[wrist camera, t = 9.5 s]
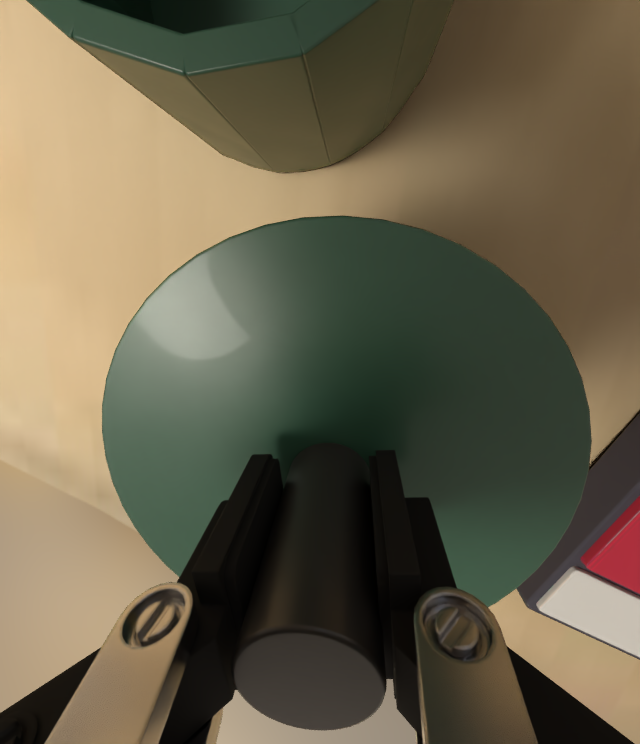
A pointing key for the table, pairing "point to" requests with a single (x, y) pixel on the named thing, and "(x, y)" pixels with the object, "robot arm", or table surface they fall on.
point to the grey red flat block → (598, 554)
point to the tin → (265, 67)
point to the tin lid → (344, 433)
